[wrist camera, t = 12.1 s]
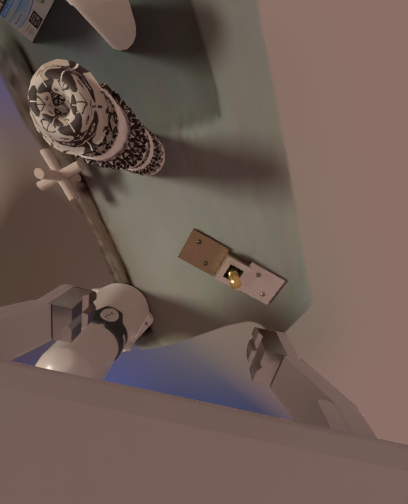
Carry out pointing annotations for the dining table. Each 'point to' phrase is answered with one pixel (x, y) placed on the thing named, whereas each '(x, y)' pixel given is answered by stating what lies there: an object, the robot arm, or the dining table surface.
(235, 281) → the brass pin
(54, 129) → the decorative candle
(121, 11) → the foam cup
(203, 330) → the dining table surface
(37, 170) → the pipe connector
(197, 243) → the hinge
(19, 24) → the light bulb box
